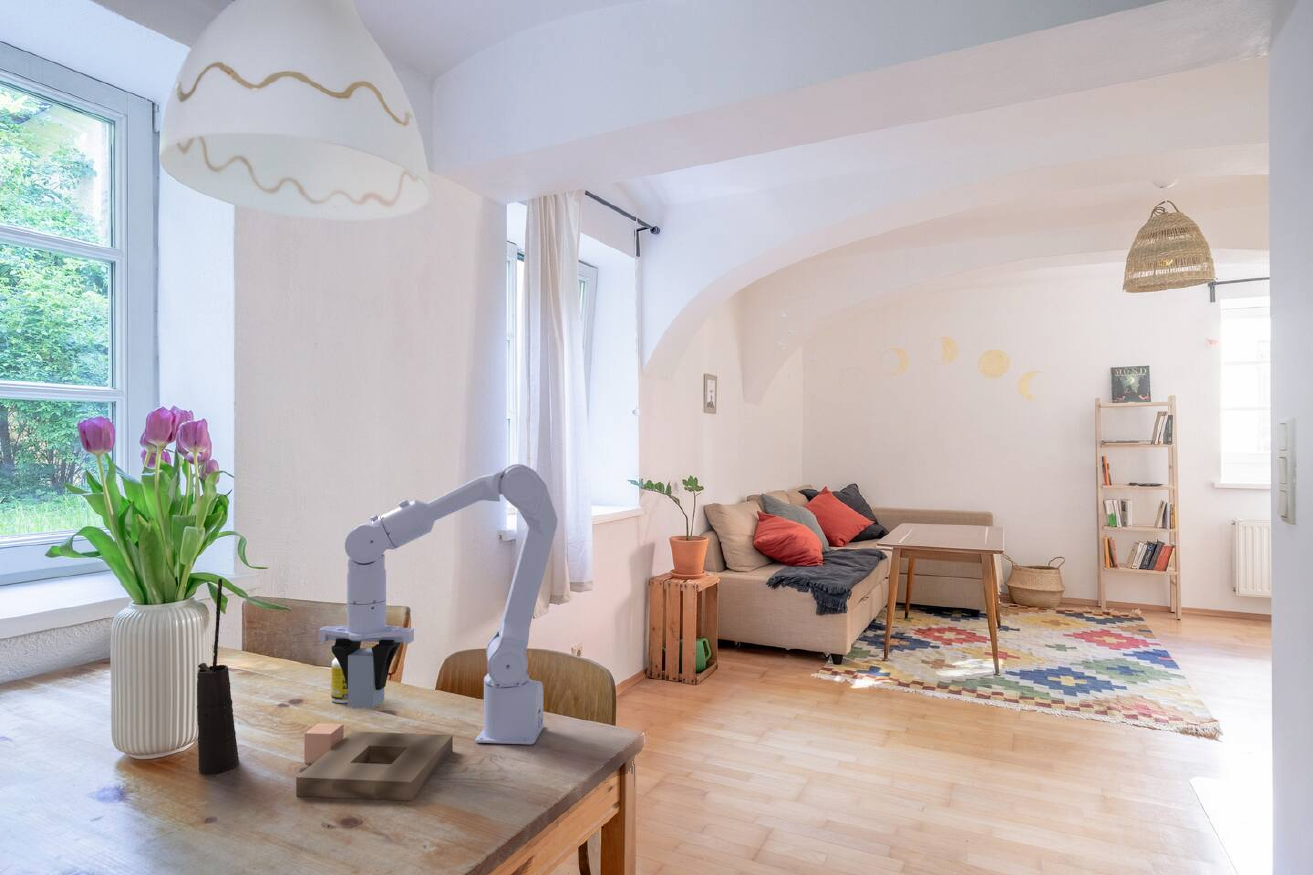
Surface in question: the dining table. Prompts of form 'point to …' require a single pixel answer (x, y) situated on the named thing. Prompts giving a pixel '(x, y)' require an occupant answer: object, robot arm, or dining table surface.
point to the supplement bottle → (338, 684)
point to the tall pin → (362, 680)
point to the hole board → (376, 766)
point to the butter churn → (215, 712)
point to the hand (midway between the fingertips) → (366, 687)
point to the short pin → (321, 740)
